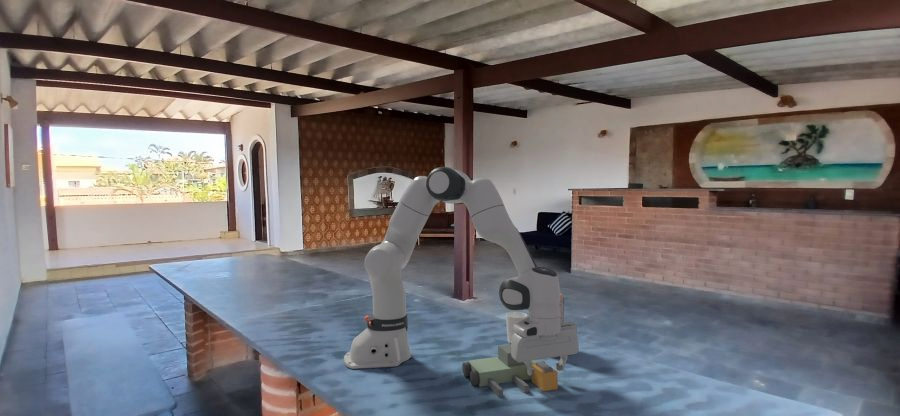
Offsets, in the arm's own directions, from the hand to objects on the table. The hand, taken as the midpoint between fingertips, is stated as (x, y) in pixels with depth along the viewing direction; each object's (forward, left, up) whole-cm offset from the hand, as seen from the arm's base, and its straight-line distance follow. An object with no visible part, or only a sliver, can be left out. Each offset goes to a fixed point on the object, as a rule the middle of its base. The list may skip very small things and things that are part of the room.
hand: (545, 372), depth 133 cm
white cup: (+8, +37, -4) cm, 38 cm away
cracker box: (+15, +25, -4) cm, 30 cm away
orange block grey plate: (-1, 0, -4) cm, 4 cm away
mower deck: (-9, +6, -4) cm, 11 cm away
